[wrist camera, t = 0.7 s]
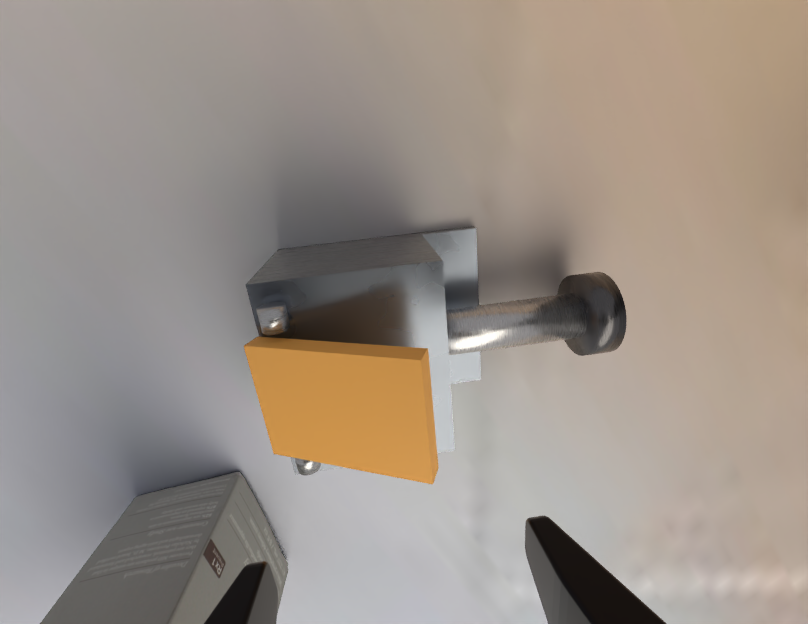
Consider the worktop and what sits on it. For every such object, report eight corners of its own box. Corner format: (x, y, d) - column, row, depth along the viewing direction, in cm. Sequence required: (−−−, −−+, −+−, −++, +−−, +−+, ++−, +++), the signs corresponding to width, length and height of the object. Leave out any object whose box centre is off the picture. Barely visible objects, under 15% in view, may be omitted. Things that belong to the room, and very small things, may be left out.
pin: (582, 263, 19) (631, 285, 15) (577, 332, 20) (621, 366, 17) (342, 293, 18) (338, 324, 15) (354, 362, 19) (352, 404, 16)
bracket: (473, 226, 18) (525, 257, 12) (478, 375, 21) (522, 456, 15) (278, 249, 18) (237, 293, 12) (311, 398, 21) (291, 492, 15)
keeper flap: (428, 348, 11) (420, 360, 11) (438, 468, 13) (432, 484, 12) (257, 336, 13) (243, 346, 13) (285, 440, 15) (273, 453, 14)
